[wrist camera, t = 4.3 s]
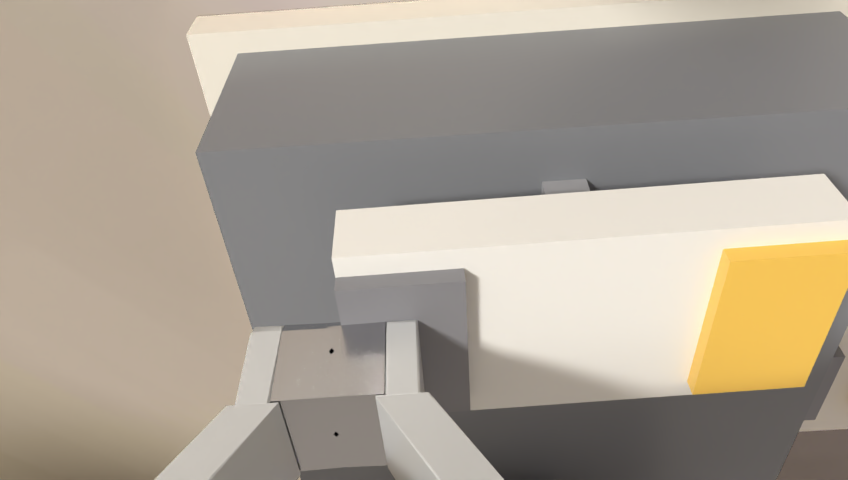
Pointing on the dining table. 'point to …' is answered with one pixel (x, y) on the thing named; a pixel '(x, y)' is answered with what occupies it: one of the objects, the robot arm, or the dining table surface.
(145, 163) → the dining table surface
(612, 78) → the switch unit
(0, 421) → the dining table surface
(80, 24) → the dining table surface
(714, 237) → the rocker
